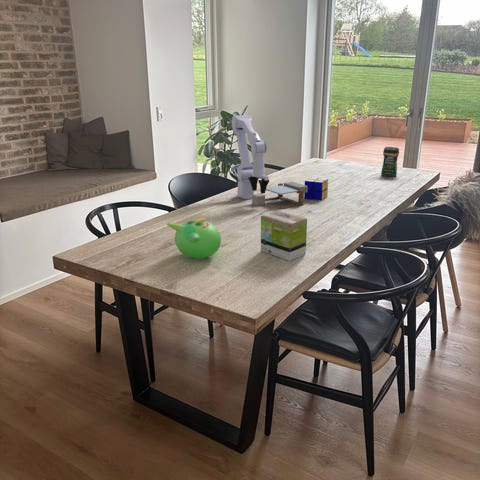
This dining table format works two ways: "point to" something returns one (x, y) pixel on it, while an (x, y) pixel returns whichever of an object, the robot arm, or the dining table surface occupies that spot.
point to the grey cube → (258, 199)
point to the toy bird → (196, 238)
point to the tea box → (283, 235)
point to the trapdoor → (288, 188)
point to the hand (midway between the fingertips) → (258, 191)
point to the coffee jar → (390, 161)
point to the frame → (300, 202)
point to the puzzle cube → (316, 189)
